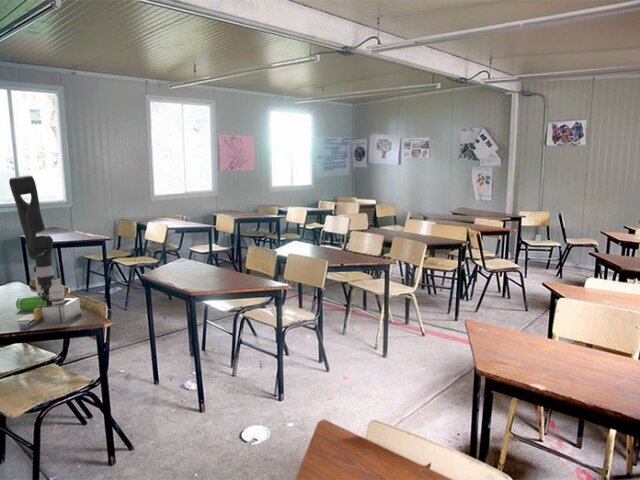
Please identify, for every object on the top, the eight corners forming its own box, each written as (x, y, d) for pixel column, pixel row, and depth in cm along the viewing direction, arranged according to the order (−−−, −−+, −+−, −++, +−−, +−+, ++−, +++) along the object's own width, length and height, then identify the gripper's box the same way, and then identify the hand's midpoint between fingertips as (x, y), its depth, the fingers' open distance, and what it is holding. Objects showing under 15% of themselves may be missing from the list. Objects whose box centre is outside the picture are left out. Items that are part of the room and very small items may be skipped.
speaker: (57, 306, 258) (55, 293, 257) (50, 311, 251) (48, 297, 250) (24, 308, 257) (22, 294, 256) (16, 312, 250) (14, 298, 249)
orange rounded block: (42, 316, 241) (41, 303, 239) (48, 316, 241) (46, 303, 239) (33, 321, 233) (31, 308, 232) (39, 321, 233) (37, 307, 232)
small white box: (46, 314, 245) (44, 299, 244) (80, 312, 245) (78, 297, 244) (20, 329, 223) (17, 313, 221) (57, 328, 223) (55, 311, 222)
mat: (28, 315, 244) (28, 314, 244) (43, 314, 245) (43, 313, 244) (17, 321, 235) (16, 320, 235) (32, 321, 235) (32, 319, 235)
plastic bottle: (50, 318, 238) (45, 279, 234) (65, 315, 242) (60, 276, 239) (55, 321, 233) (50, 281, 230) (70, 317, 238) (65, 278, 235)
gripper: (45, 271, 248) (49, 303, 251) (30, 278, 235) (35, 311, 238) (59, 271, 248) (63, 303, 251) (45, 277, 235) (50, 311, 238)
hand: (49, 307), depth 244 cm, fingers closed
